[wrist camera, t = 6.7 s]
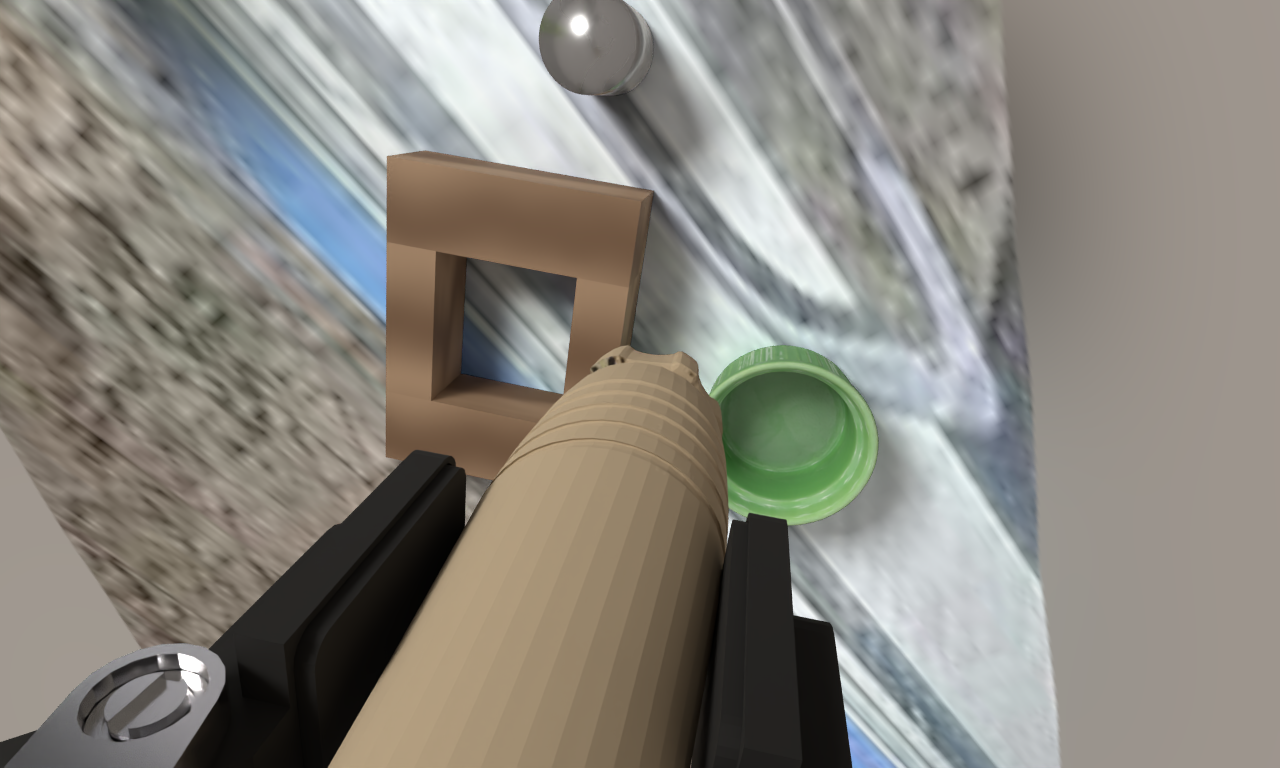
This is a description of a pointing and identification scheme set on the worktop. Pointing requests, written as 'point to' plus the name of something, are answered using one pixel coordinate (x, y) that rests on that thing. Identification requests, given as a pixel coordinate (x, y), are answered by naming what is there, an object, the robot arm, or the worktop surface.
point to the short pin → (595, 46)
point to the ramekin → (793, 435)
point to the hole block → (507, 234)
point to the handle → (571, 592)
